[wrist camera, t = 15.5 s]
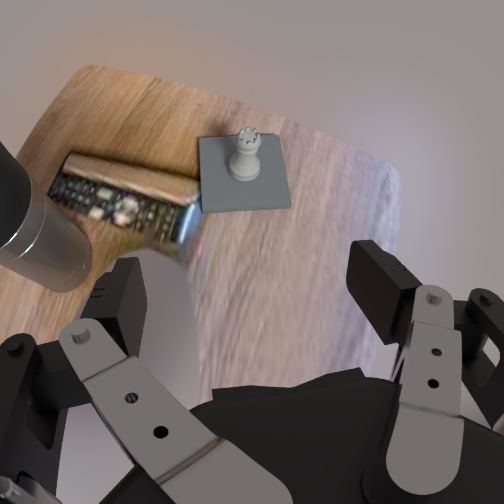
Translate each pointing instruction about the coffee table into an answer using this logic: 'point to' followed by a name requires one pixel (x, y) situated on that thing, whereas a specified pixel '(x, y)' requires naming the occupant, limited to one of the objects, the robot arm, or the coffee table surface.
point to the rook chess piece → (246, 155)
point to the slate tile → (242, 192)
